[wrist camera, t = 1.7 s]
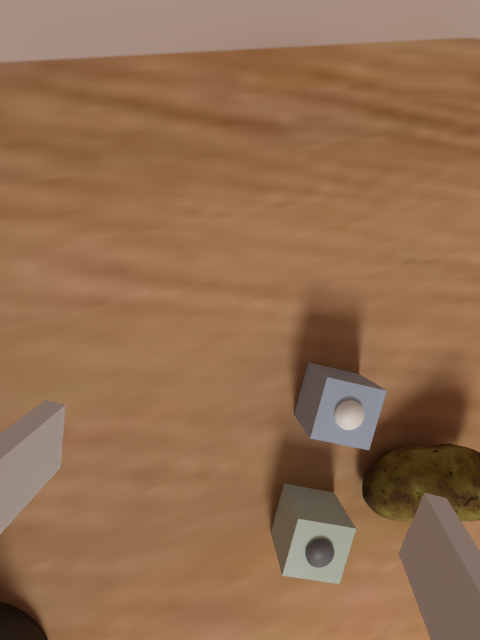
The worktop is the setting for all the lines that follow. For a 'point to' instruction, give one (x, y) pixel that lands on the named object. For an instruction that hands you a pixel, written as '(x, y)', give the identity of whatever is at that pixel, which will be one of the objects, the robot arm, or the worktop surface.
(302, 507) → the sage block
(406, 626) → the worktop surface
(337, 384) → the slate blue block
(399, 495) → the potato
